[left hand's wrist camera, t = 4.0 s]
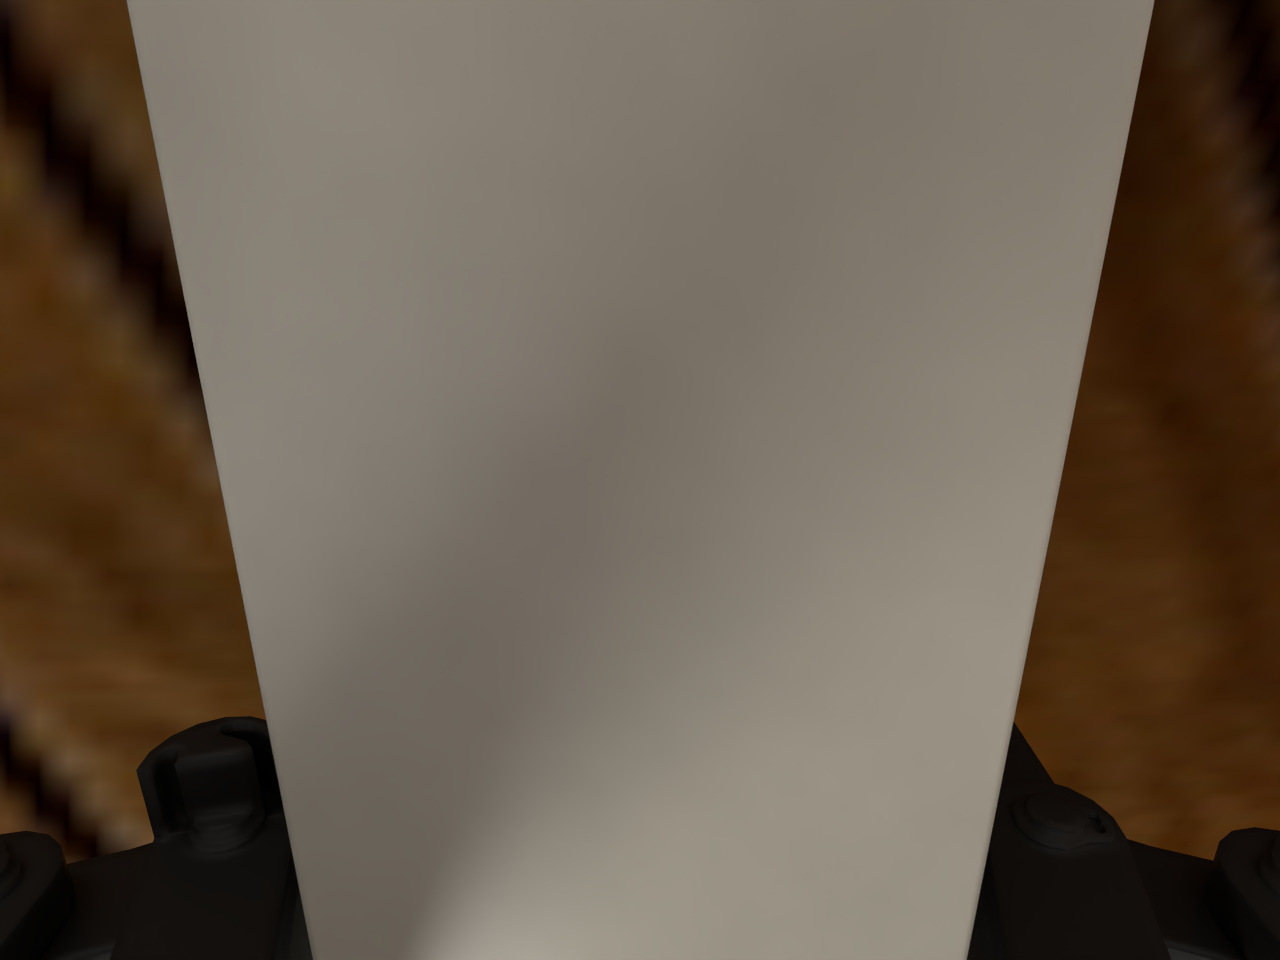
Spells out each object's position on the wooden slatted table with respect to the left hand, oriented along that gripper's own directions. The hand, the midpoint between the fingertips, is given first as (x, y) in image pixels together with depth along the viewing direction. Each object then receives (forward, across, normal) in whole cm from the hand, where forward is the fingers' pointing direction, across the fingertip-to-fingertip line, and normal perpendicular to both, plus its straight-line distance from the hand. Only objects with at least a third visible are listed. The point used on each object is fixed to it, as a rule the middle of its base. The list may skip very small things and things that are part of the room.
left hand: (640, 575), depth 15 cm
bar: (+1, 0, -9) cm, 9 cm away
